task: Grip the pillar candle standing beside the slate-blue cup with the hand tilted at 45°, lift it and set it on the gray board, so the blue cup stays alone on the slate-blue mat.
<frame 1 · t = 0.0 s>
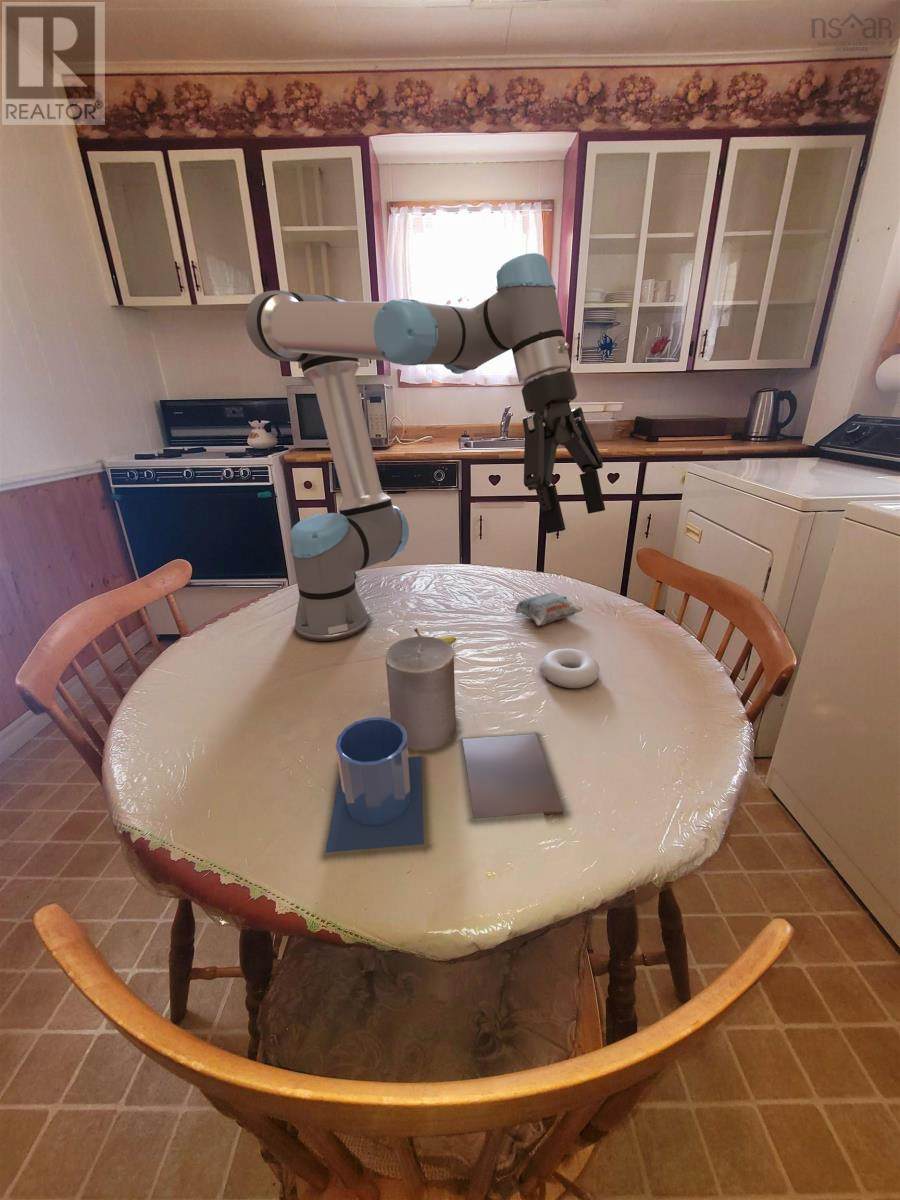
hand: (577, 521, 74), 28 cm above the table, tool tilted 20°, fingers open, 13 cm apart
blue cup: (378, 798, 61), resting on blue mat
gray board: (508, 774, 65), on the table
banana: (435, 647, 96), on the table
pillar candle: (424, 731, 73), on the table
donut: (569, 676, 86), on the table
blue mat: (379, 801, 61), on the table
packaged food: (548, 619, 106), on the table
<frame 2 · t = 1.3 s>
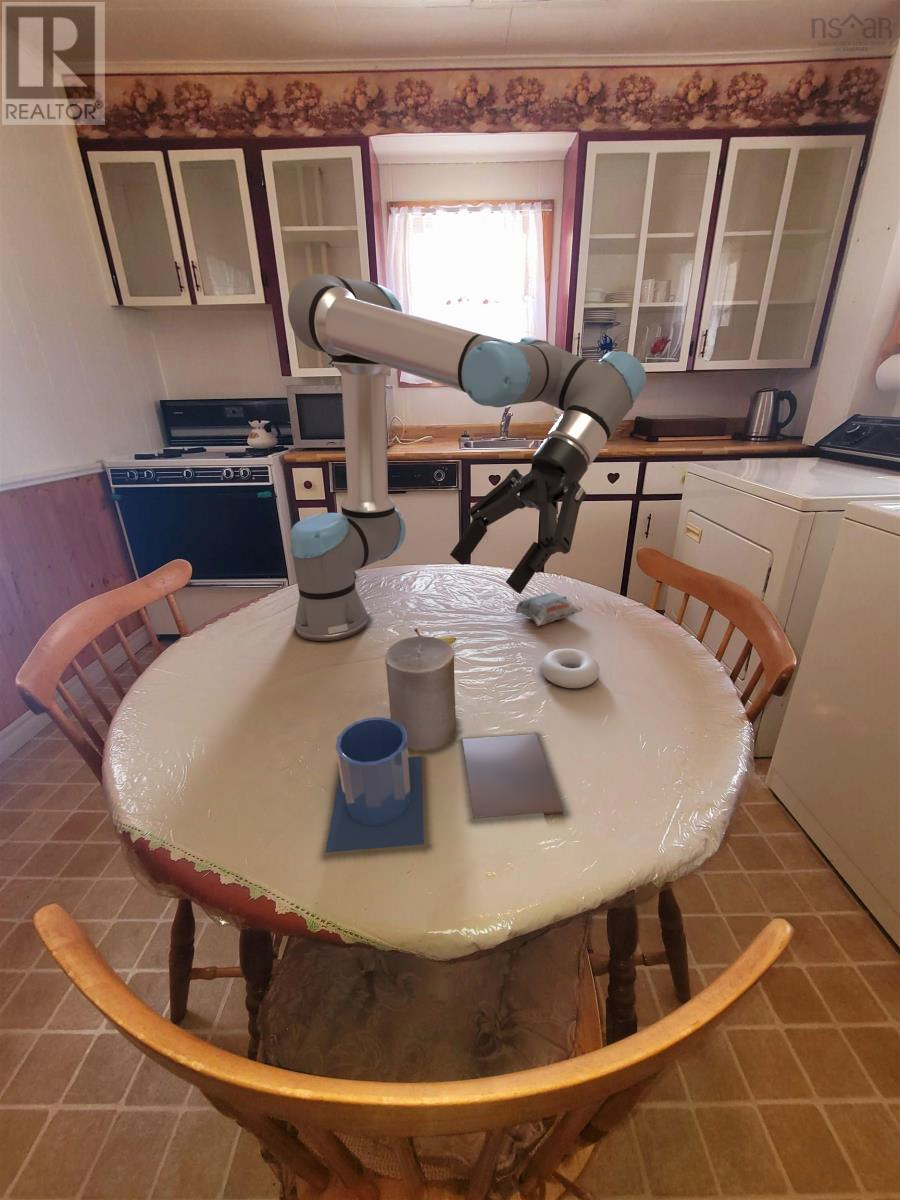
hand: (482, 573, 68), 23 cm above the table, tool tilted 45°, fingers open, 13 cm apart
nothing on the table moved.
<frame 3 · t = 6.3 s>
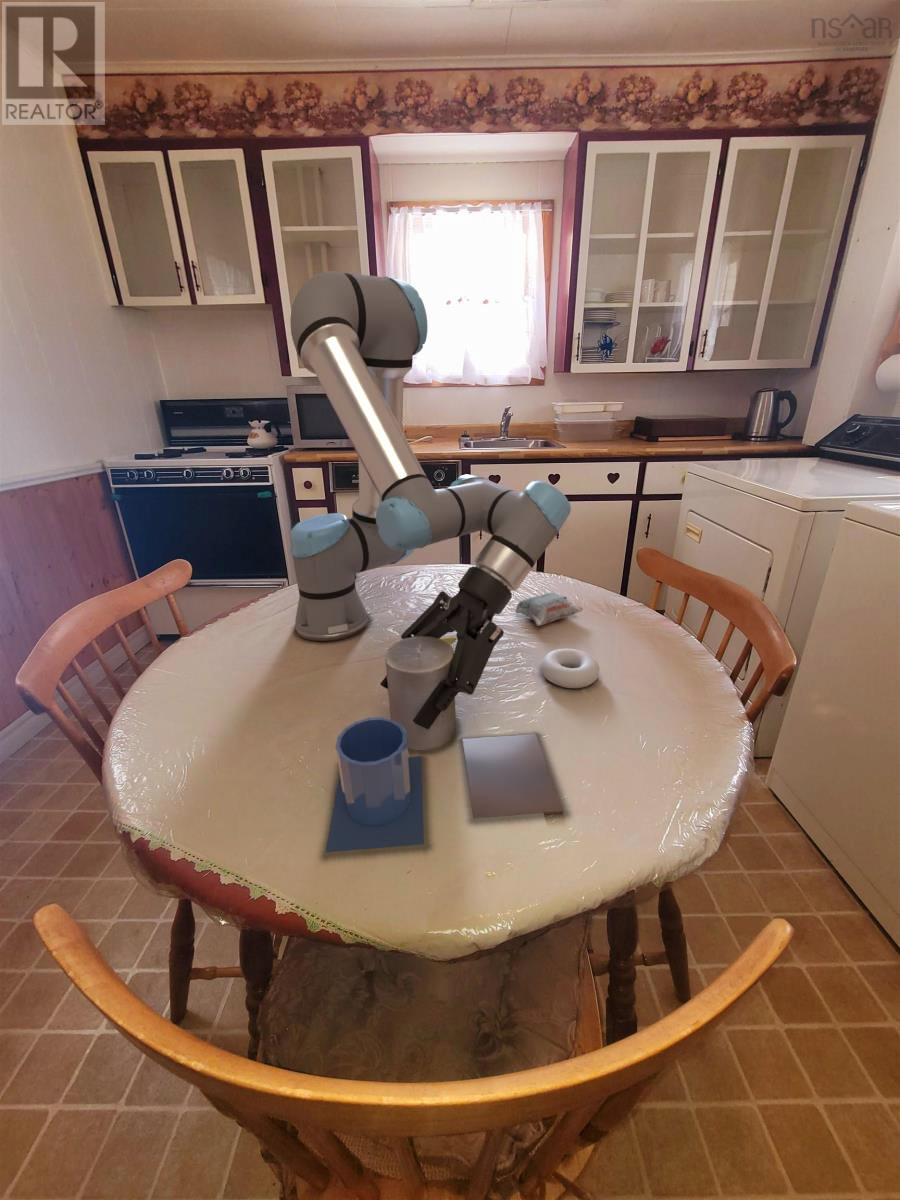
hand: (403, 705, 69), 6 cm above the table, tool tilted 45°, fingers closed on pillar candle, 10 cm apart
pillar candle: (423, 731, 73), on the table, touching gripper
everything else where it was.
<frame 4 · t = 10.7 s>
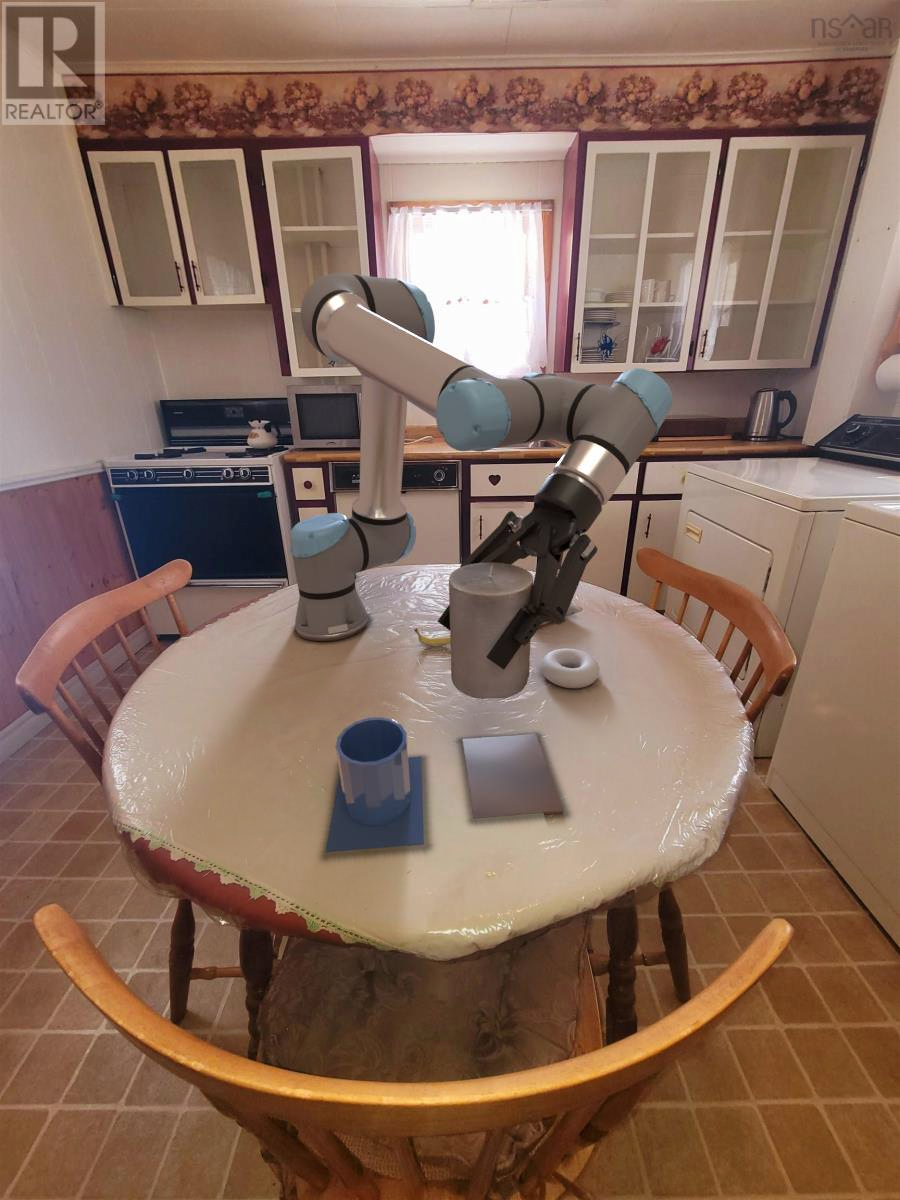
hand: (468, 644, 57), 20 cm above the table, tool tilted 45°, fingers closed on pillar candle, 10 cm apart
pillar candle: (489, 679, 61), point 14 cm above the table, touching gripper
everything else where it was.
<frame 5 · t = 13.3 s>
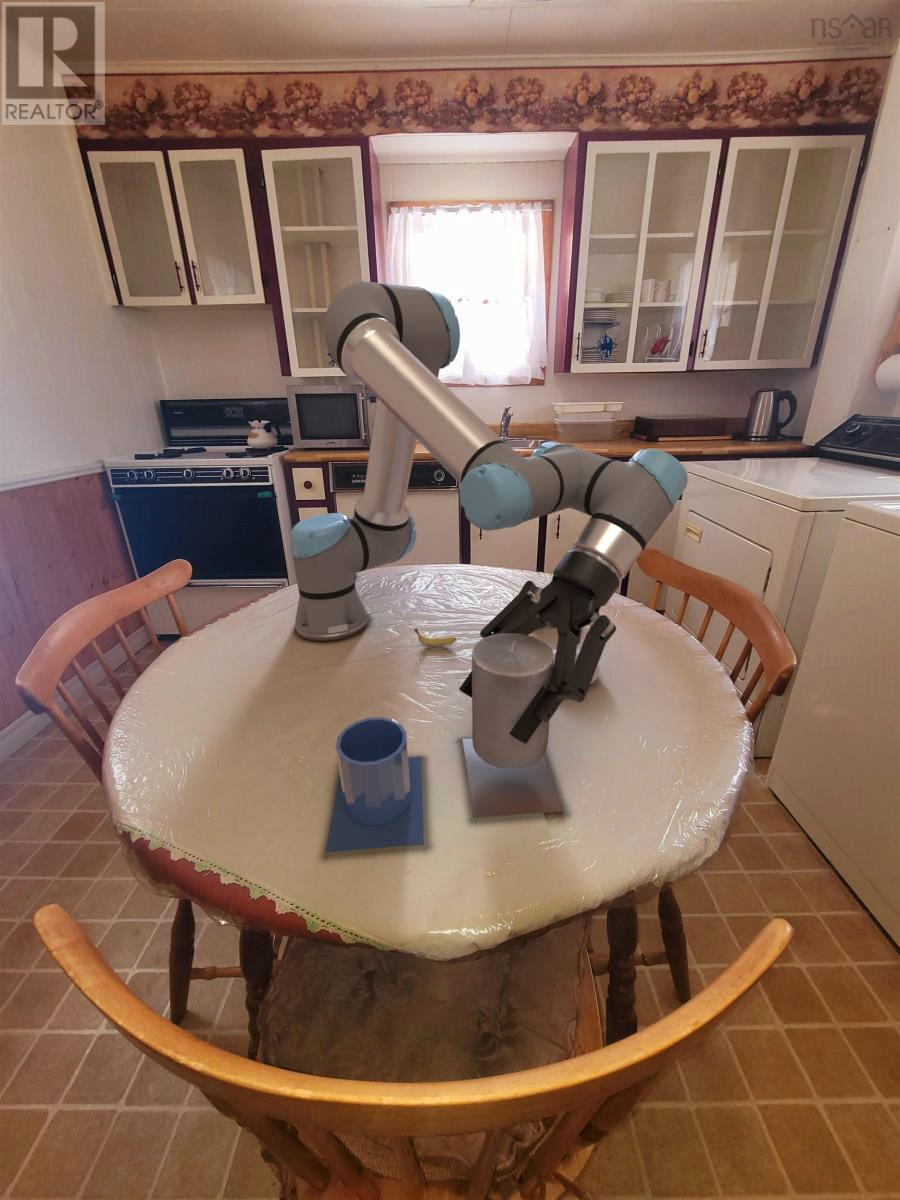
hand: (490, 715, 59), 11 cm above the table, tool tilted 45°, fingers closed on pillar candle, 10 cm apart
pillar candle: (509, 744, 63), point 5 cm above the table, touching gripper
everything else where it was.
when the fingers open (6 cm above the table, at t = 15.2 s): pillar candle stays where it is, resting on gray board.
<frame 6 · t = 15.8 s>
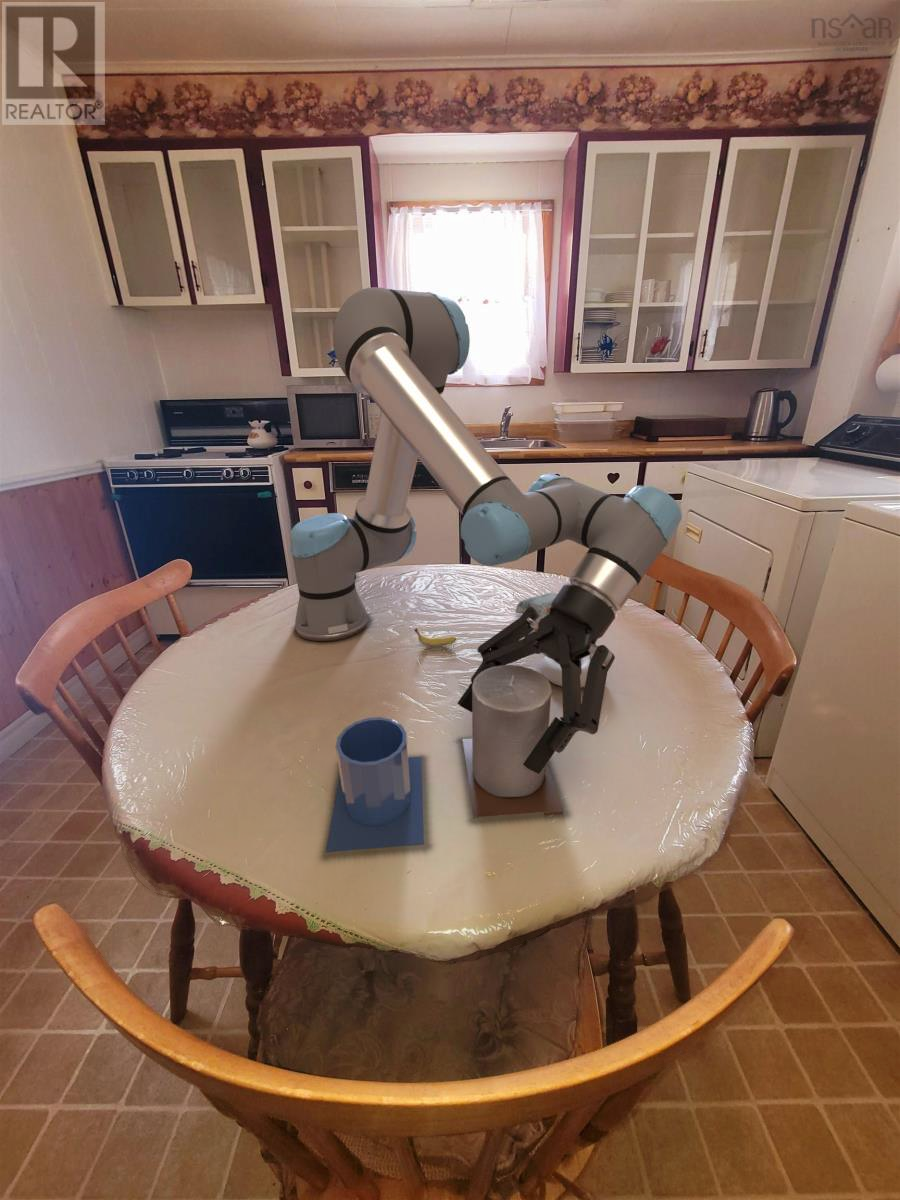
hand: (494, 736, 60), 8 cm above the table, tool tilted 45°, fingers open, 13 cm apart
pillar candle: (508, 772, 64), resting on gray board
everything else where it was.
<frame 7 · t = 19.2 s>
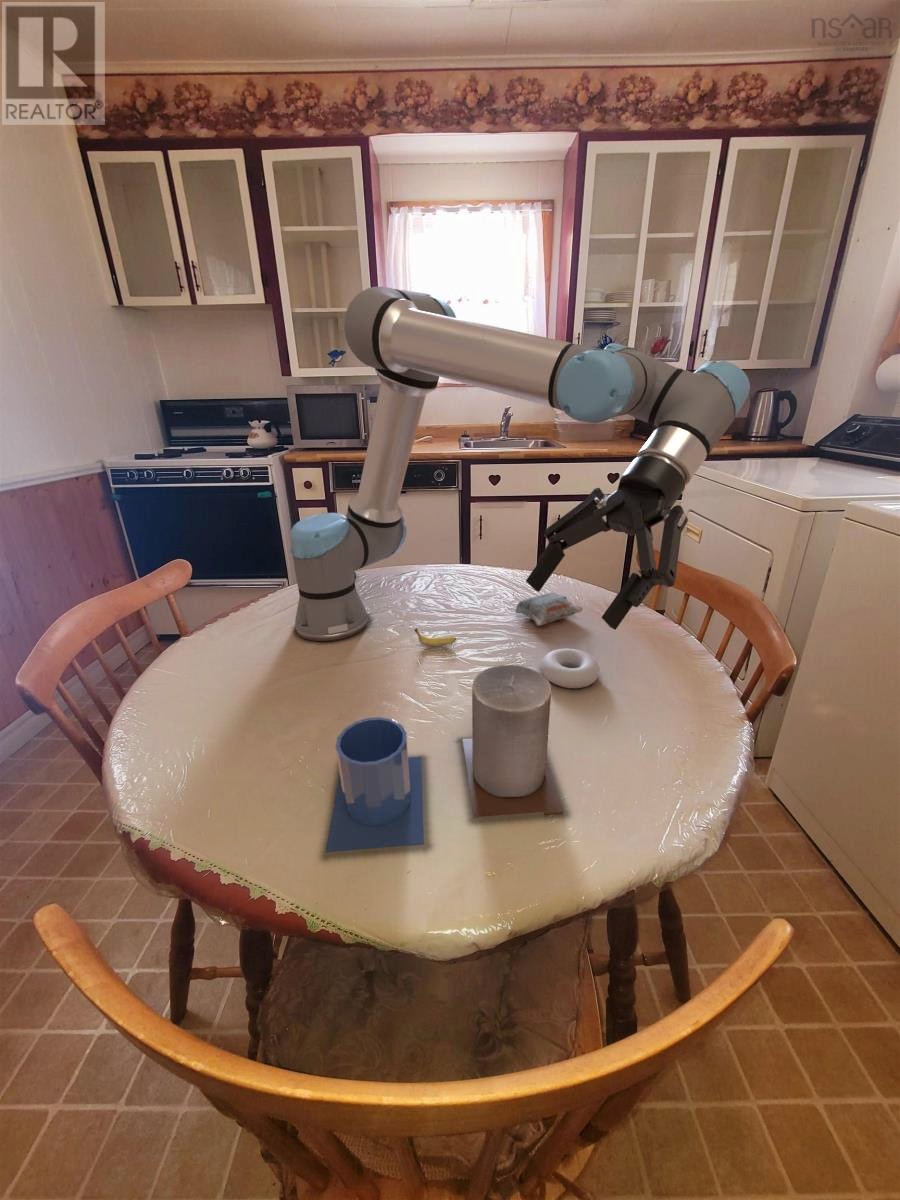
hand: (566, 603, 62), 21 cm above the table, tool tilted 45°, fingers open, 13 cm apart
nothing on the table moved.
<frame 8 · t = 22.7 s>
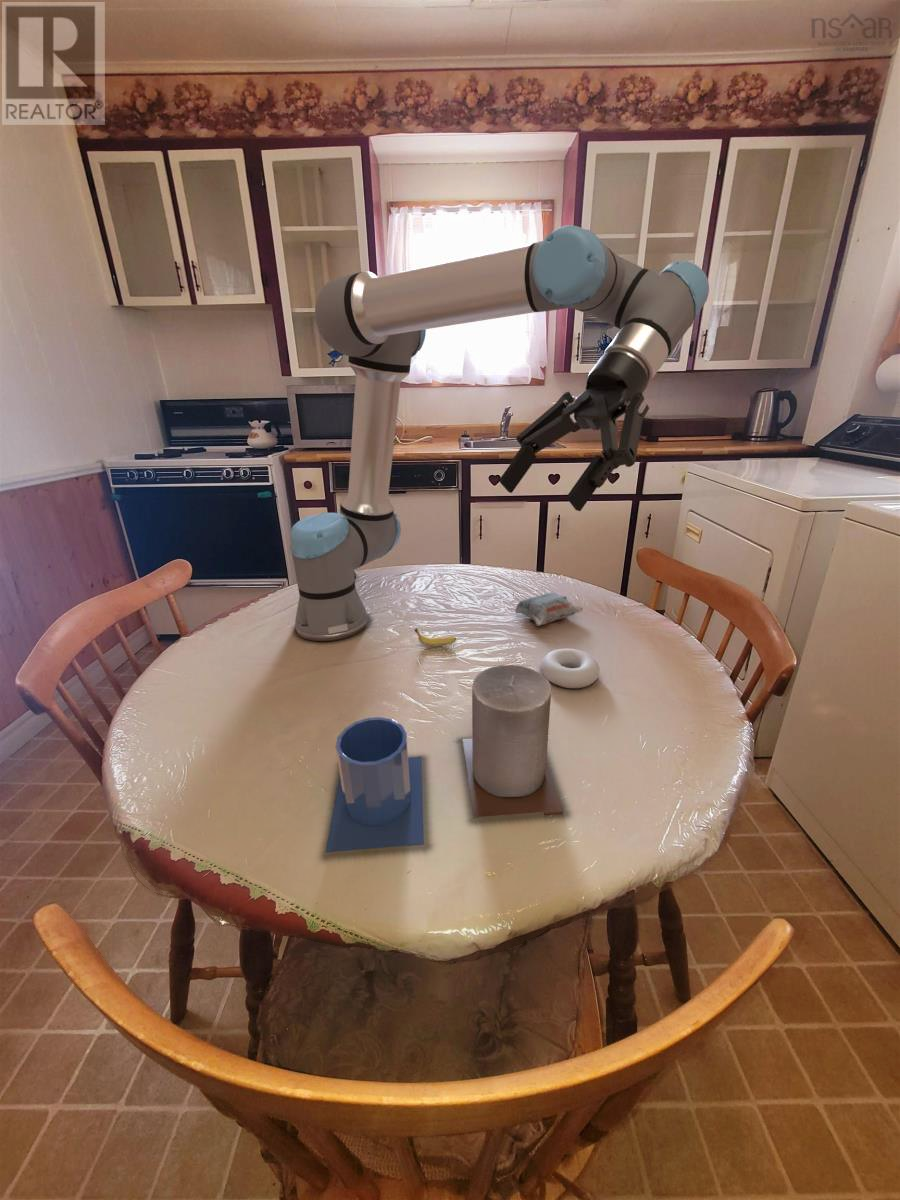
hand: (536, 495, 65), 34 cm above the table, tool tilted 45°, fingers open, 13 cm apart
nothing on the table moved.
at the end: pillar candle inside the target area (0.0 cm from its centre), resting on gray board; pillar candle tilted 0°; blue cup moved 0.5 cm from its start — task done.
